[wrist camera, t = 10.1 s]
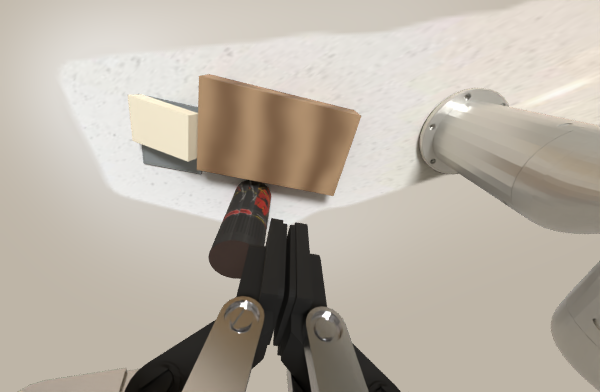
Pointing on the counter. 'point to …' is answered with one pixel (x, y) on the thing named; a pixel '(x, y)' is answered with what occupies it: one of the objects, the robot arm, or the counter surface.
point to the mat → (167, 160)
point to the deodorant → (241, 228)
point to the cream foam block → (164, 126)
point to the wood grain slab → (272, 135)
